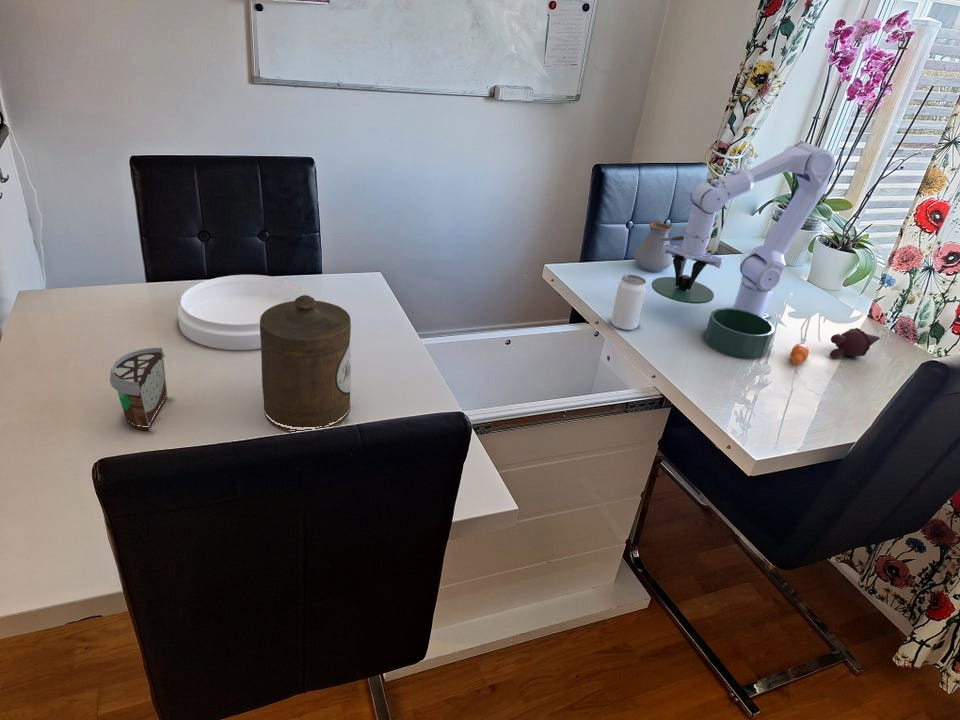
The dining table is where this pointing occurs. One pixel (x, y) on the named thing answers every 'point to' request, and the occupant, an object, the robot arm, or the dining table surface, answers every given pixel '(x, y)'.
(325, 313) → the wooden container
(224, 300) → the plate
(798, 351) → the carrot
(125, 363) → the food container
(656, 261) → the coffee pot
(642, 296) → the can
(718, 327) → the pot
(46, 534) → the dining table surface
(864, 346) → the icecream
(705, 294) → the pot lid
